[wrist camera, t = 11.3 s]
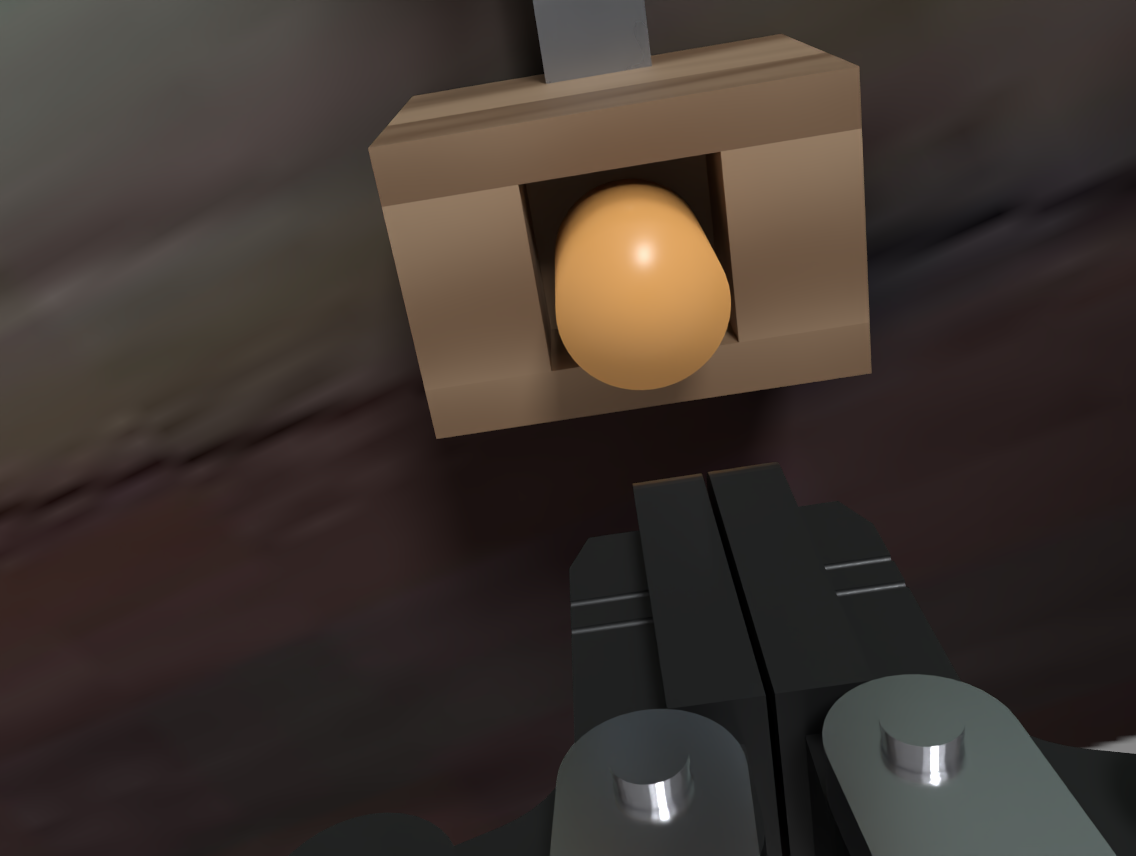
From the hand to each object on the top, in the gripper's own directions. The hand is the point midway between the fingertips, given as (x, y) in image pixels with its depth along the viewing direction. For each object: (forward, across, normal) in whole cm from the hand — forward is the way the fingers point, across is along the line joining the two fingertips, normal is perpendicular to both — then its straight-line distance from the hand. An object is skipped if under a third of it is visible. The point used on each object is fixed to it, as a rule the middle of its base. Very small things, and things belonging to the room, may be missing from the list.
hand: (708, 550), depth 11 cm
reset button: (+11, 0, 0) cm, 11 cm away
